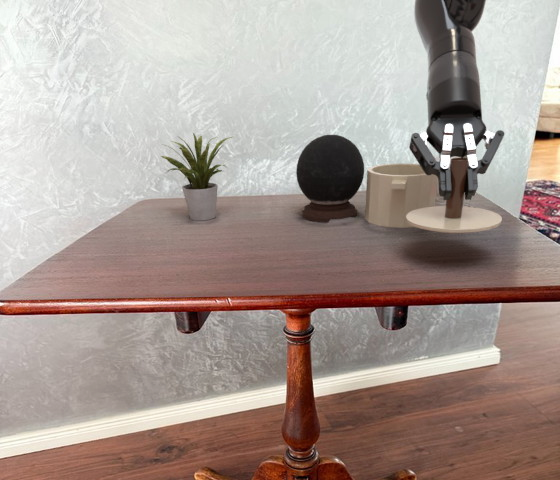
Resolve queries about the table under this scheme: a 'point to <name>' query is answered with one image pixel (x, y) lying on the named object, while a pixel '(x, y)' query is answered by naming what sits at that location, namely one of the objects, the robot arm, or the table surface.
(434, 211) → the lid
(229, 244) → the table surface
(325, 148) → the black ball on stand
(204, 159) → the house plant
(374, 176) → the pot
